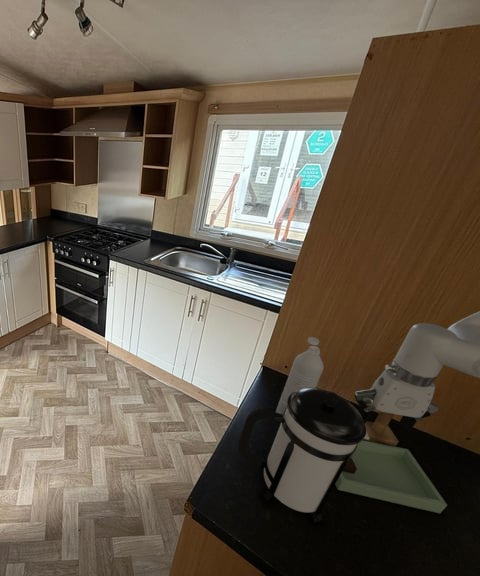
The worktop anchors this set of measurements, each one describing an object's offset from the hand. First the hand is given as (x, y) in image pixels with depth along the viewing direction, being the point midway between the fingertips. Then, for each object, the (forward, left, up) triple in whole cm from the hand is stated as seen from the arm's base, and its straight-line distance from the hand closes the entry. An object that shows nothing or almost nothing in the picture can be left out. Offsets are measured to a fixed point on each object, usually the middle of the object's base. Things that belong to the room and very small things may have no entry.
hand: (382, 423), depth 81 cm
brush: (0, 0, -6) cm, 6 cm away
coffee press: (+27, +21, -6) cm, 35 cm away
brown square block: (+12, +11, -5) cm, 17 cm away
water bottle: (+20, -3, -6) cm, 21 cm away
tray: (+5, +11, -6) cm, 14 cm away
